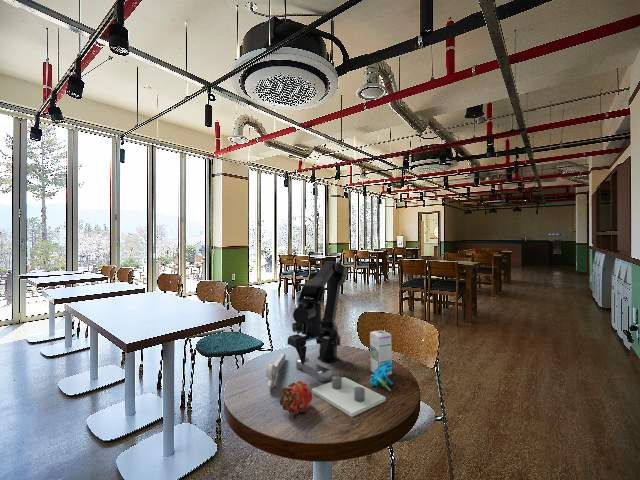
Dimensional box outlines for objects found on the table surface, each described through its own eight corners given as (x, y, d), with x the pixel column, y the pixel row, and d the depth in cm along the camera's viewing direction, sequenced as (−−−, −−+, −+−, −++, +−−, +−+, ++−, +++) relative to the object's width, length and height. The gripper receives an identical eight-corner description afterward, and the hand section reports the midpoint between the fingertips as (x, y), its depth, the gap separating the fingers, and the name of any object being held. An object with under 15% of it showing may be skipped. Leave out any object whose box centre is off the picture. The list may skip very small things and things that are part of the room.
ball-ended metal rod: (304, 364, 123) (304, 356, 123) (335, 380, 109) (335, 371, 109) (293, 367, 120) (293, 359, 120) (323, 384, 106) (323, 375, 106)
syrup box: (392, 374, 113) (392, 333, 113) (378, 377, 111) (378, 335, 111) (382, 368, 119) (382, 329, 119) (369, 371, 116) (369, 331, 116)
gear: (368, 371, 112) (389, 354, 109) (381, 383, 112) (402, 366, 109) (366, 390, 101) (389, 371, 99) (380, 404, 101) (403, 385, 98)
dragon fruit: (285, 428, 83) (299, 411, 95) (311, 411, 82) (322, 396, 94) (269, 398, 86) (285, 385, 97) (294, 381, 85) (307, 370, 96)
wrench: (285, 367, 127) (270, 394, 98) (280, 367, 127) (264, 394, 98) (285, 346, 128) (271, 367, 99) (281, 346, 128) (265, 367, 99)
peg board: (344, 379, 109) (344, 368, 109) (385, 400, 95) (385, 387, 95) (311, 392, 100) (311, 379, 100) (351, 416, 86) (351, 402, 86)
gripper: (319, 309, 127) (319, 349, 127) (279, 317, 115) (279, 360, 115) (338, 315, 118) (338, 357, 118) (296, 323, 106) (296, 370, 106)
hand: (313, 360), depth 115 cm, fingers open, 9 cm apart
